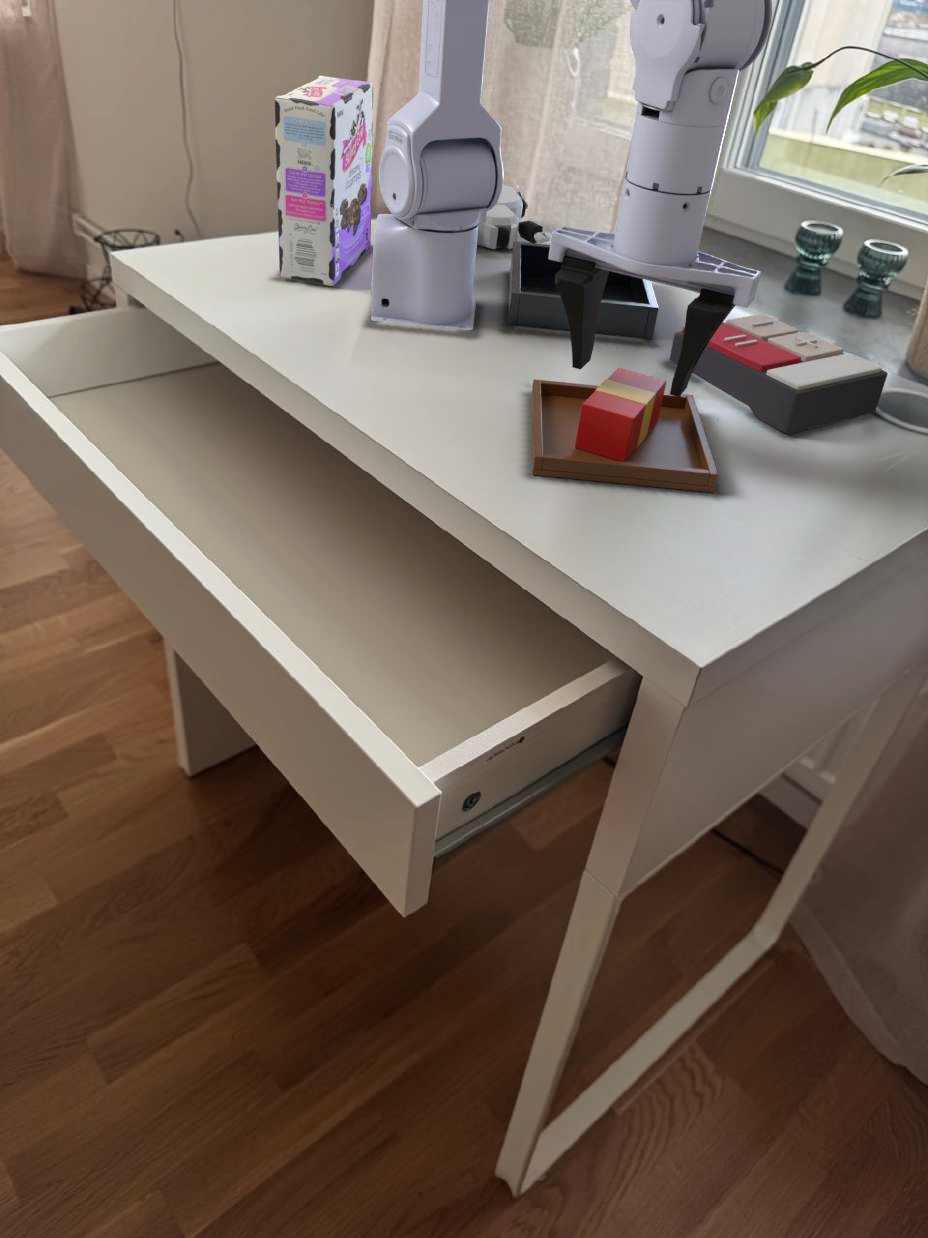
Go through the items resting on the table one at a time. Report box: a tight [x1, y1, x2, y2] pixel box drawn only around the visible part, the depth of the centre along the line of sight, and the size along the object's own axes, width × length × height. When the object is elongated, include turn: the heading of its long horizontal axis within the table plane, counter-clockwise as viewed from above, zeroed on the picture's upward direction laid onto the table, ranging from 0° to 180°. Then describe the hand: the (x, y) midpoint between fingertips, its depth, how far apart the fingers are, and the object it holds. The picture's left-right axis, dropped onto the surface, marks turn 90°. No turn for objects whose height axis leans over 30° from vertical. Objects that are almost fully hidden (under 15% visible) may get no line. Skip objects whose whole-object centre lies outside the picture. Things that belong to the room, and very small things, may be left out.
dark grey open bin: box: [507, 241, 660, 341], centre depth 96 cm, size 14×16×4 cm
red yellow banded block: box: [575, 367, 668, 462], centre depth 73 cm, size 4×8×4 cm, turn 153°
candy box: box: [274, 75, 374, 287], centre depth 96 cm, size 14×6×16 cm, turn 168°
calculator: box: [669, 313, 888, 434], centre depth 84 cm, size 11×4×15 cm
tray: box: [530, 379, 719, 493], centre depth 74 cm, size 13×13×2 cm
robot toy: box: [477, 184, 551, 250], centre depth 111 cm, size 12×4×15 cm
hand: (628, 377), depth 72 cm, fingers open, 7 cm apart
